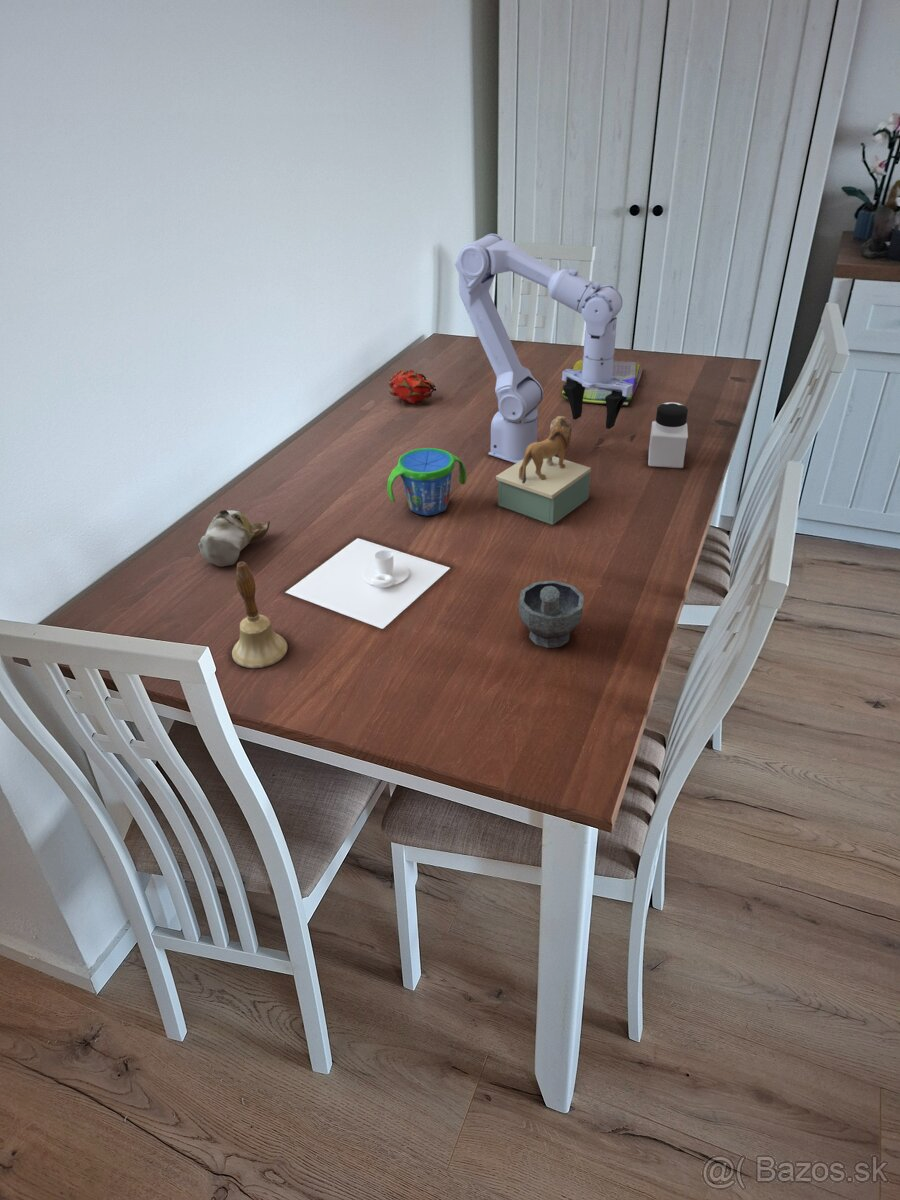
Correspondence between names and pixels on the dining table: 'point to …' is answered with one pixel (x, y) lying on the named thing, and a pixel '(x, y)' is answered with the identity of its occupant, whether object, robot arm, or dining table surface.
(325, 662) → the dining table surface
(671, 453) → the medicine bottle
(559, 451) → the lion figurine
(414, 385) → the dragon fruit
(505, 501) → the box
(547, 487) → the lid
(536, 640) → the mortar and pestle
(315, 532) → the dining table surface
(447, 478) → the snack cup
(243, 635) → the hand bell
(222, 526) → the ceramic sculpture
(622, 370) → the dish towel
